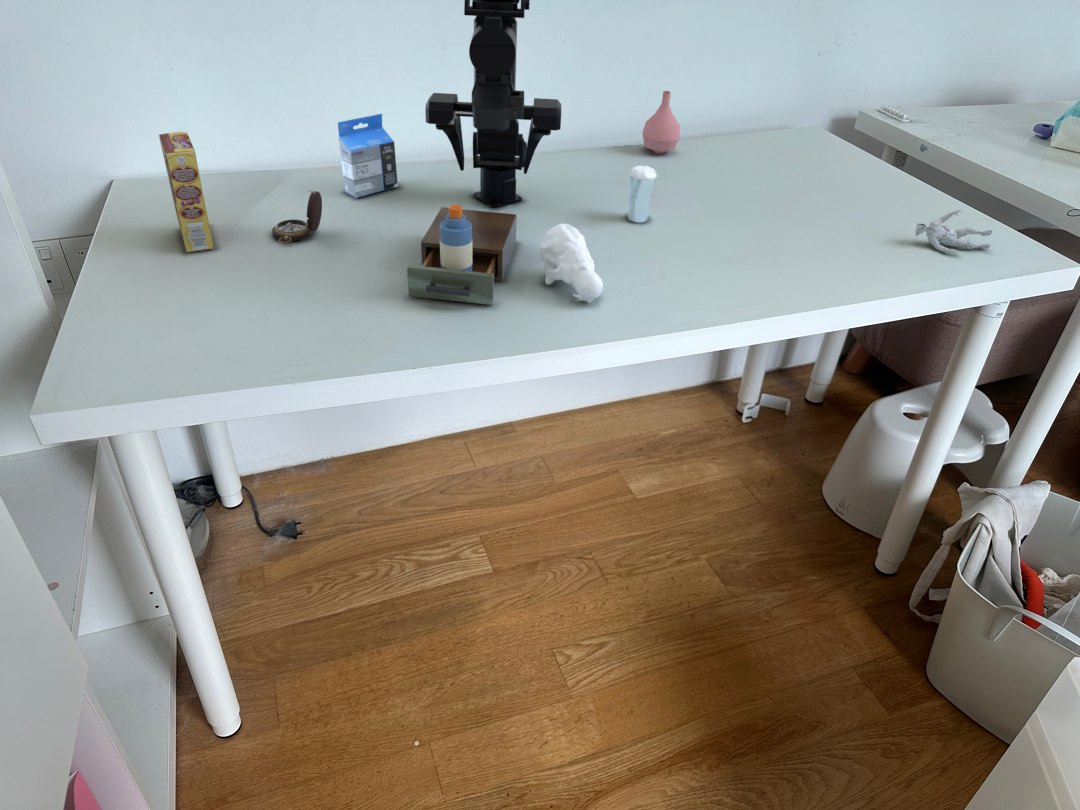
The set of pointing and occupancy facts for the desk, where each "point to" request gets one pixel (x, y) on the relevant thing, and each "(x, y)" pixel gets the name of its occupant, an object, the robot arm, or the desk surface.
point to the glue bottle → (456, 240)
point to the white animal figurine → (570, 261)
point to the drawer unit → (480, 235)
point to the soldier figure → (950, 235)
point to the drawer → (454, 279)
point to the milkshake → (640, 192)
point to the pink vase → (662, 128)
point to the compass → (301, 222)
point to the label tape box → (367, 156)
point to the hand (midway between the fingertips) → (493, 171)
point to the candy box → (186, 190)
